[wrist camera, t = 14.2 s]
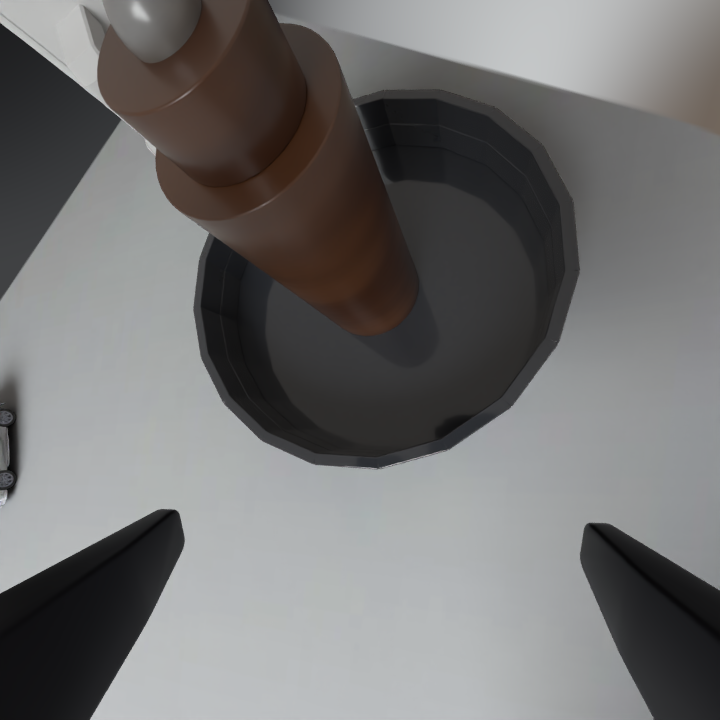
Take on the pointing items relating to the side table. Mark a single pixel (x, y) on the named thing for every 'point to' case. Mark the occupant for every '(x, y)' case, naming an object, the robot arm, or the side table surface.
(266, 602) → the side table surface
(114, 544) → the robot arm
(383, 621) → the side table surface
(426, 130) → the pan
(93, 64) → the cup
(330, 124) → the pepper mill
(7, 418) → the toy car
